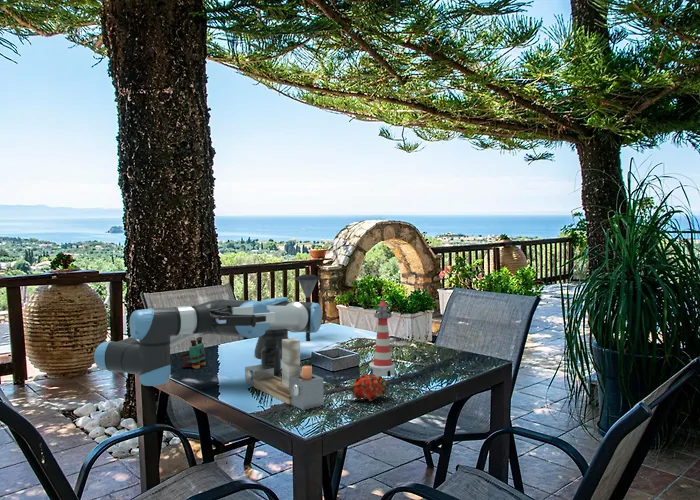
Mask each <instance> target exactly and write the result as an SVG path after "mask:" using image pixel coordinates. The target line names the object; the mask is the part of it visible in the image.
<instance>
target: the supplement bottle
mask: <svg viewBox="0 0 700 500" xmlns="http://www.w3.org/2000/svg"><path fill="white" fill-rule="evenodd" d="M277 346H278V341H277V340H265V341H264V347H265V348H263V349H262V351H261V358H260V361H261V362H260V363H261V364H265V365H268V366H270V367H273V368H274V376H277V377H279V375H282V358H281V350H280V349H279V348H278V347H277Z"/></svg>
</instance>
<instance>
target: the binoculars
mask: <svg viewBox="0 0 700 500" xmlns="http://www.w3.org/2000/svg"><path fill="white" fill-rule="evenodd" d="M190 343H191V345H190V346H189V347H188V348H189V353H188V352H187V353H183V354H181V355H179V356H178V358H177V359H178V361H180V362H182V361H185V362H187V363H182V364H181V368H188V367H192V368H193V369H198V370H199V369H200V368H201V366H206V362H207V361H205V359H206V352H205V345H204V342H203V337H202V336H200V337H196V339H193V340H190Z"/></svg>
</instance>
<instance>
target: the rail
mask: <svg viewBox="0 0 700 500" xmlns="http://www.w3.org/2000/svg"><path fill="white" fill-rule="evenodd" d="M280 383H282V377H279V376H273V379H269V380H263V381H258V380H254V386H253V388H255V389H256V390H259V391H261V392H263V393H265V394H267V395H270V396H271V397H273V398H275V399H277V400H279V401H281V402H284V403H285V404H287V405H291V404H290V395H288V394H286V393H284V392H281V391H279V390H277V389H276V384H280Z"/></svg>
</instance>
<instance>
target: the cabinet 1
mask: <svg viewBox="0 0 700 500" xmlns="http://www.w3.org/2000/svg"><path fill="white" fill-rule="evenodd" d="M244 374H245V375H244V379H245V381H244V382H245V383H247V384H249V385H251V386H253V387H254V380H258V381H263V380H269V379H273V376H274V368H273V367H270V366H268V365H265V364H255V365H250V366H249V365H248V366H245V367H244Z"/></svg>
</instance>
